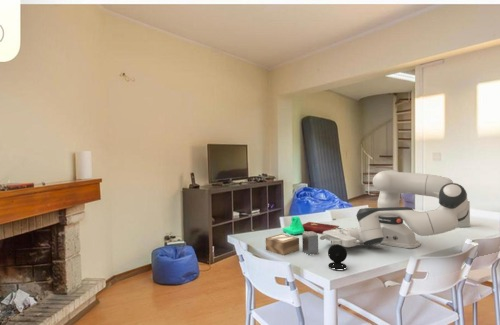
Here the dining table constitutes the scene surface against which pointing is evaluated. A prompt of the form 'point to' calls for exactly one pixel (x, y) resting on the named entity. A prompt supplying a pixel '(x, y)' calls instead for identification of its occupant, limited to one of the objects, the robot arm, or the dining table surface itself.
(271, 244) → the stand
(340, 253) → the webcam
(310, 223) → the hardcover book
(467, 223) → the supplement box
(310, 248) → the block
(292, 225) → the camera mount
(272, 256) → the dining table surface
